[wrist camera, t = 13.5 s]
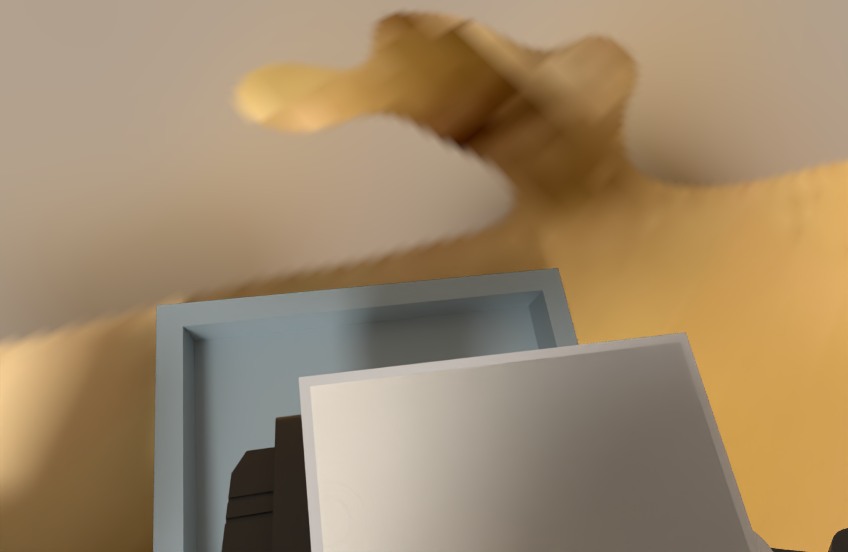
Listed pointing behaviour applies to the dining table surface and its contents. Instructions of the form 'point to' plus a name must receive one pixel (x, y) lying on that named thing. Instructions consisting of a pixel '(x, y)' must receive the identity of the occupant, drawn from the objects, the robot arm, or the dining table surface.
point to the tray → (310, 369)
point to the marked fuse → (522, 454)
